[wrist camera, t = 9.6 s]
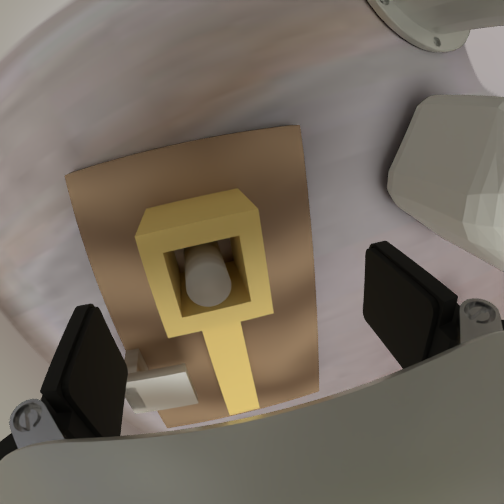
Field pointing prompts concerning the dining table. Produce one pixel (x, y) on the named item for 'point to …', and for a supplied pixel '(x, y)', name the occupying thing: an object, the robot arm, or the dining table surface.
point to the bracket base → (282, 245)
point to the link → (240, 272)
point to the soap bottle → (455, 172)
